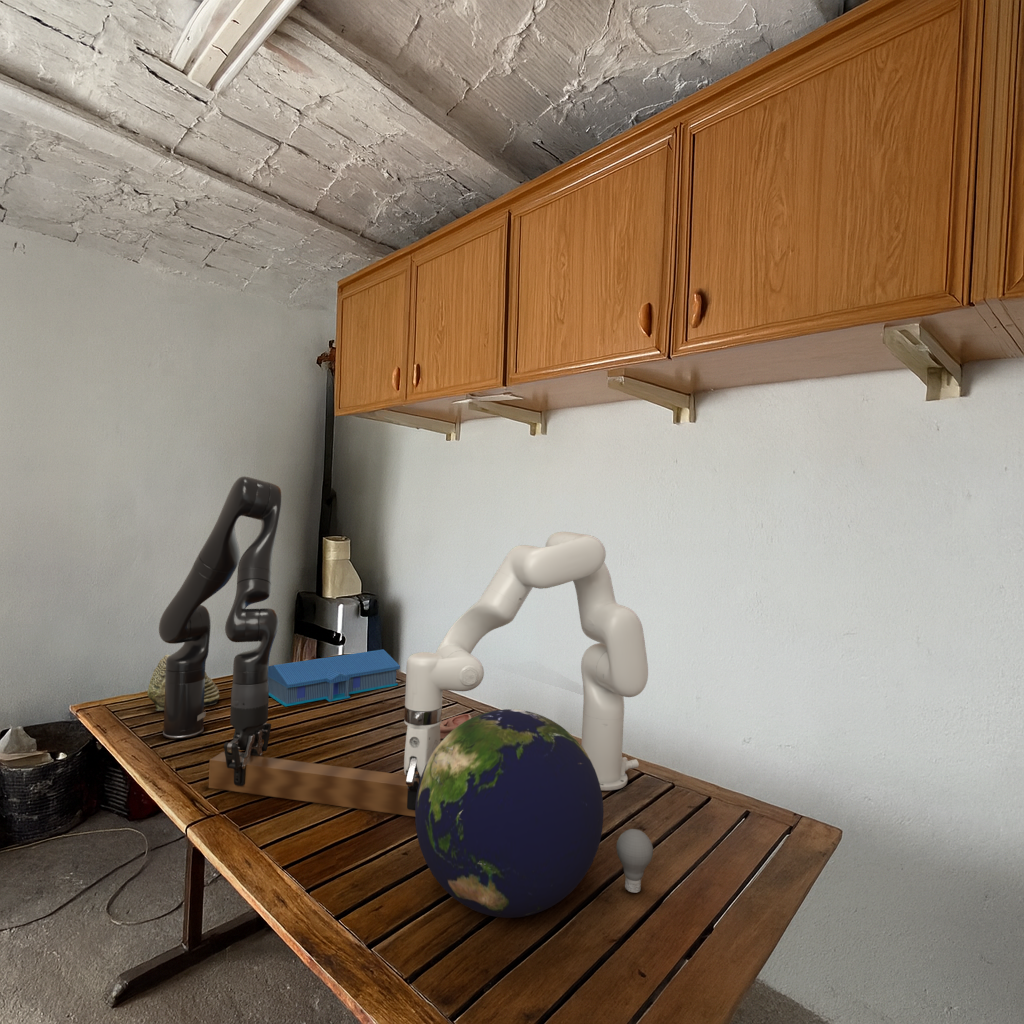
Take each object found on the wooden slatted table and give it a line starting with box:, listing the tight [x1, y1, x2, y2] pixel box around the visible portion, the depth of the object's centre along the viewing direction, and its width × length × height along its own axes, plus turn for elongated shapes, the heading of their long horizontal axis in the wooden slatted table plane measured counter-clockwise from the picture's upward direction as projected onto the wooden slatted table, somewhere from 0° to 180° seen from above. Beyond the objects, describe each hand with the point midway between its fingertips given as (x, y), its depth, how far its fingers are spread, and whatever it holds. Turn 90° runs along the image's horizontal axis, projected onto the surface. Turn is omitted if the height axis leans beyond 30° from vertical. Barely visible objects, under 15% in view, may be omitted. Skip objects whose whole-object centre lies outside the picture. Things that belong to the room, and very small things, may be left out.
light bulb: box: [615, 828, 654, 894], centre depth 106 cm, size 6×6×10 cm
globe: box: [414, 708, 604, 919], centre depth 101 cm, size 30×30×30 cm
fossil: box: [147, 654, 221, 712], centre depth 185 cm, size 9×18×15 cm, turn 132°
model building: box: [268, 649, 401, 707], centre depth 208 cm, size 39×24×10 cm, turn 132°
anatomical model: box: [440, 713, 472, 740], centre depth 174 cm, size 13×4×12 cm
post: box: [208, 751, 419, 818], centre depth 133 cm, size 54×5×6 cm, turn 80°
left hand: (247, 779), depth 137 cm, fingers closed on post, 4 cm apart
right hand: (419, 802), depth 129 cm, fingers closed on post, 4 cm apart
